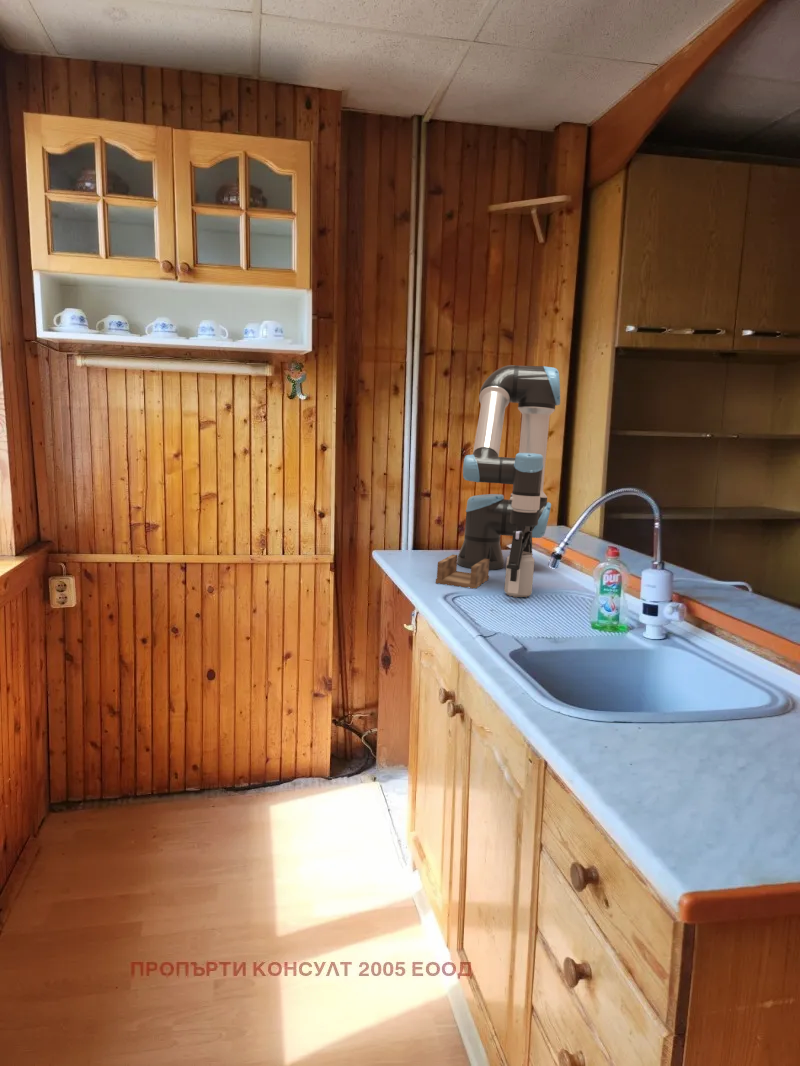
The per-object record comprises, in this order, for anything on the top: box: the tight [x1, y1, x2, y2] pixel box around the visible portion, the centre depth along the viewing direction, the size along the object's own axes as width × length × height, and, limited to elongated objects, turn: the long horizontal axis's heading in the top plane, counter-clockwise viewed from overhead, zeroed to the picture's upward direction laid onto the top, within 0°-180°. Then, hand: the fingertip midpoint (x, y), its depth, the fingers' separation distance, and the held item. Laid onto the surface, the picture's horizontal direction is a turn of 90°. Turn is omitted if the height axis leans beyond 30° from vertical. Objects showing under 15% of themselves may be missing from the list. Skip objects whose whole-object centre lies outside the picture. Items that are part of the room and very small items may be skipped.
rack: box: [435, 554, 490, 589], centre depth 212 cm, size 14×12×6 cm
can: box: [503, 551, 535, 598], centre depth 198 cm, size 8×8×12 cm
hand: (518, 588), depth 199 cm, fingers open, 12 cm apart
